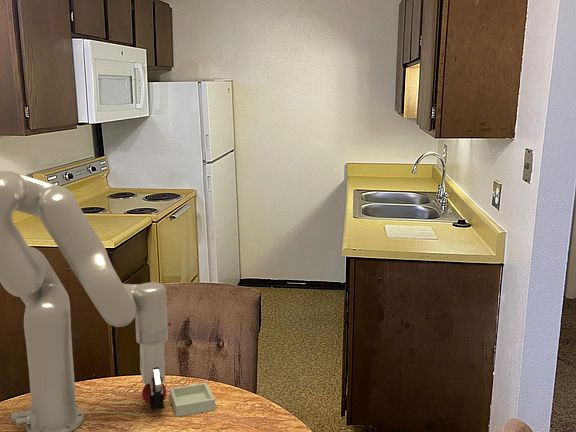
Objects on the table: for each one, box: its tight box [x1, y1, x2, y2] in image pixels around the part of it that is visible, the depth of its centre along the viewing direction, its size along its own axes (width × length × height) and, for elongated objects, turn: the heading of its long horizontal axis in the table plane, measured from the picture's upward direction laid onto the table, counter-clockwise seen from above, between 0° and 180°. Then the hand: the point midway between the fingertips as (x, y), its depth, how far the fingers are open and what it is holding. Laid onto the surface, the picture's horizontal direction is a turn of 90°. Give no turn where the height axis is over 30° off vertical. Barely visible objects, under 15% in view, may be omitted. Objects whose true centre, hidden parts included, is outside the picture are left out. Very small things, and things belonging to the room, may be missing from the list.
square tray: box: [169, 382, 216, 418], centre depth 142 cm, size 10×10×3 cm
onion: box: [141, 379, 167, 406], centre depth 141 cm, size 6×6×8 cm
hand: (154, 400), depth 141 cm, fingers open, 7 cm apart
